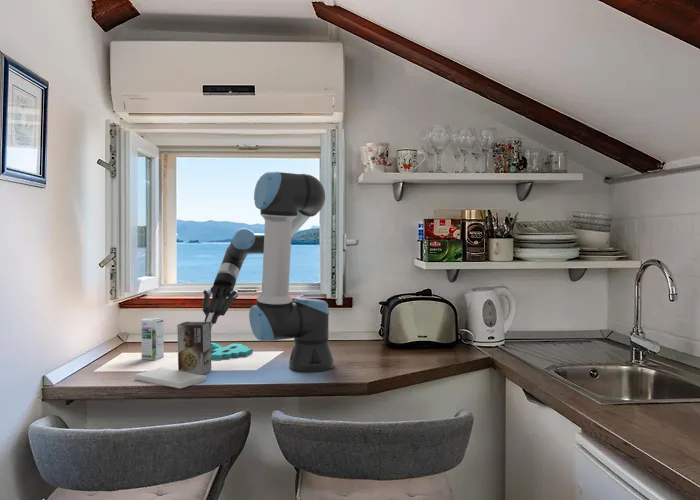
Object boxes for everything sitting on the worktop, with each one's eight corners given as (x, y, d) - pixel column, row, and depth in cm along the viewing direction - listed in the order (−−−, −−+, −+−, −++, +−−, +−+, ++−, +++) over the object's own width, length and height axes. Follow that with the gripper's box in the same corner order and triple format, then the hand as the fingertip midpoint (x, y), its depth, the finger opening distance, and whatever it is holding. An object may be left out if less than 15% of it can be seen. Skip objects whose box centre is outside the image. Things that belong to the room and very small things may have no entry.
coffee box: (212, 369, 179) (211, 321, 178) (203, 374, 173) (203, 324, 172) (186, 368, 180) (186, 320, 180) (177, 373, 174) (176, 324, 174)
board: (205, 380, 166) (205, 375, 166) (180, 388, 157) (179, 383, 157) (161, 372, 176) (161, 367, 176) (135, 379, 167) (135, 374, 167)
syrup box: (140, 359, 194) (140, 319, 194) (151, 355, 200) (150, 317, 199) (154, 360, 192) (154, 320, 192) (164, 356, 198) (164, 317, 198)
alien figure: (186, 359, 196) (238, 362, 192) (186, 353, 196) (238, 356, 192) (211, 348, 215) (259, 350, 211) (211, 342, 215) (259, 344, 211)
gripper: (245, 284, 202) (227, 337, 186) (213, 284, 205) (192, 336, 189) (240, 271, 197) (221, 324, 181) (207, 271, 199) (185, 323, 183)
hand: (206, 330), depth 185 cm, fingers closed
